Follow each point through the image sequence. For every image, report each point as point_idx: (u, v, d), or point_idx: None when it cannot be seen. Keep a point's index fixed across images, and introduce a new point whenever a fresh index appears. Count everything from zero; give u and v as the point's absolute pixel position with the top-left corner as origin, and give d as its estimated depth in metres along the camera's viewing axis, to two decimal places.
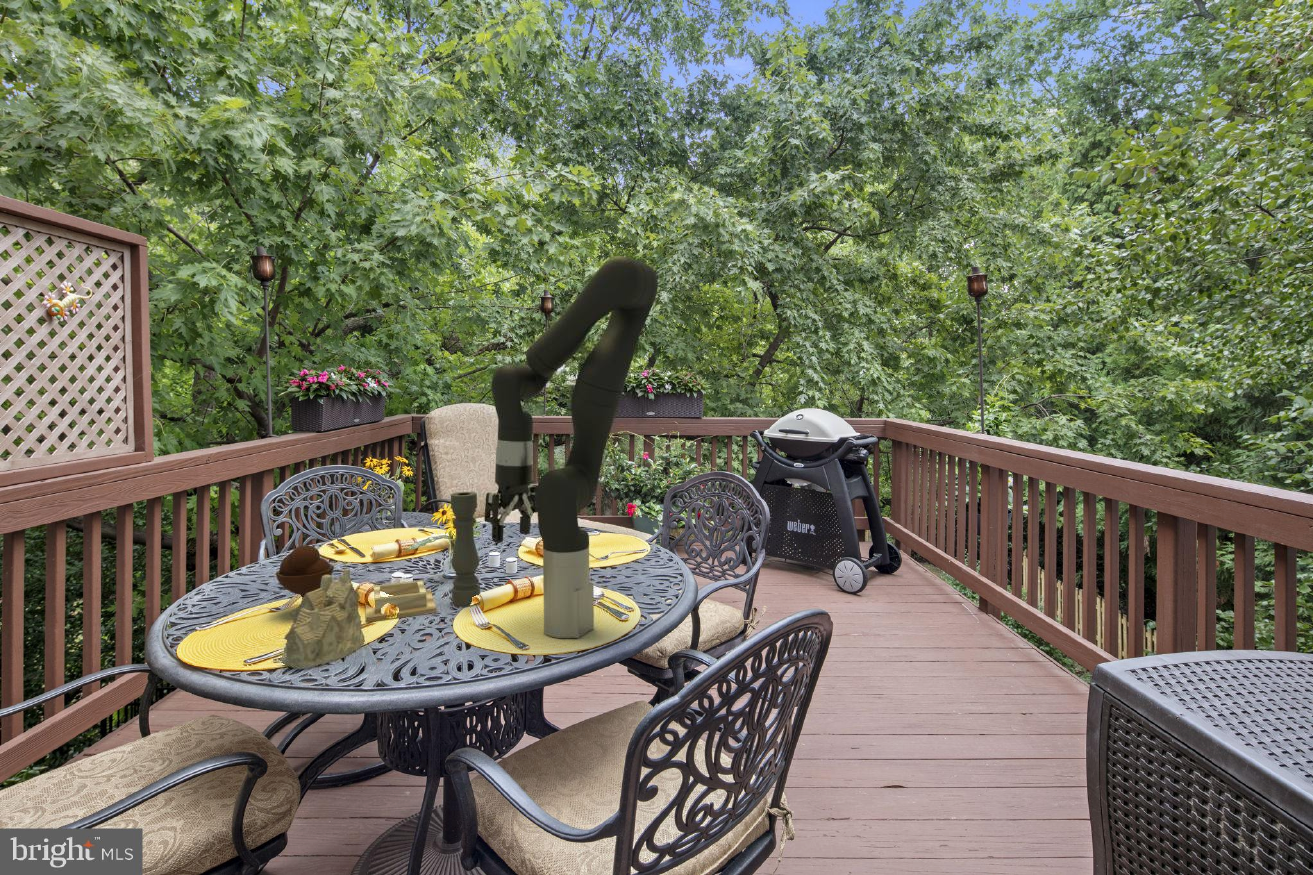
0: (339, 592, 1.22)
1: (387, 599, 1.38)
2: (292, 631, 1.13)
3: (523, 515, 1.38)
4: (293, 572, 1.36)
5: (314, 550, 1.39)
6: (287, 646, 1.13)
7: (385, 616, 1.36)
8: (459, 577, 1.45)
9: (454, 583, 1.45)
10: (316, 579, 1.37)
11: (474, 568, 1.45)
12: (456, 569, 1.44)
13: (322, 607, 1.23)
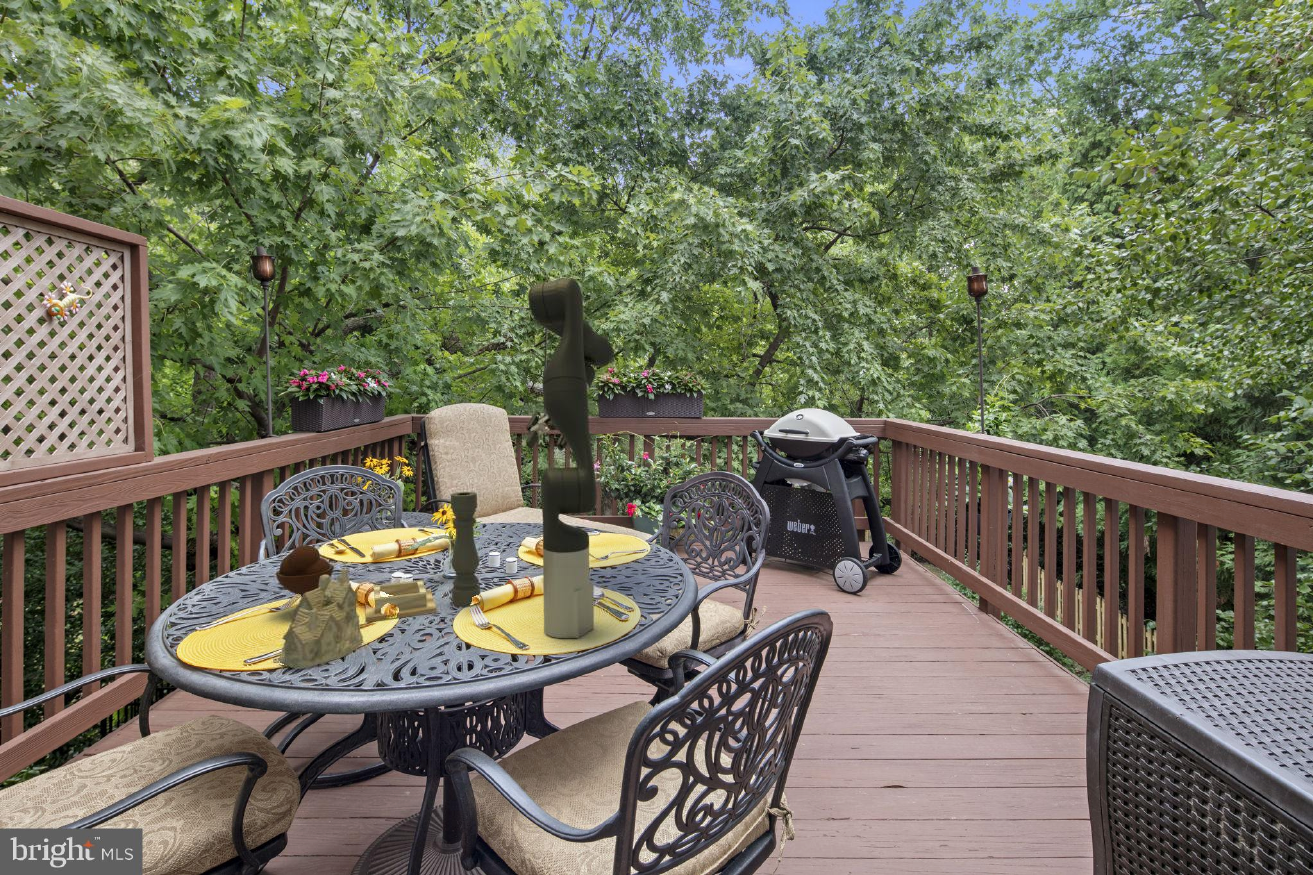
0: (337, 592, 1.22)
1: (387, 599, 1.38)
2: (290, 631, 1.13)
3: None
4: (293, 572, 1.36)
5: (314, 550, 1.39)
6: (285, 646, 1.13)
7: (385, 616, 1.36)
8: (459, 577, 1.45)
9: (454, 583, 1.45)
10: (316, 579, 1.37)
11: (474, 568, 1.45)
12: (456, 569, 1.44)
13: (320, 607, 1.23)
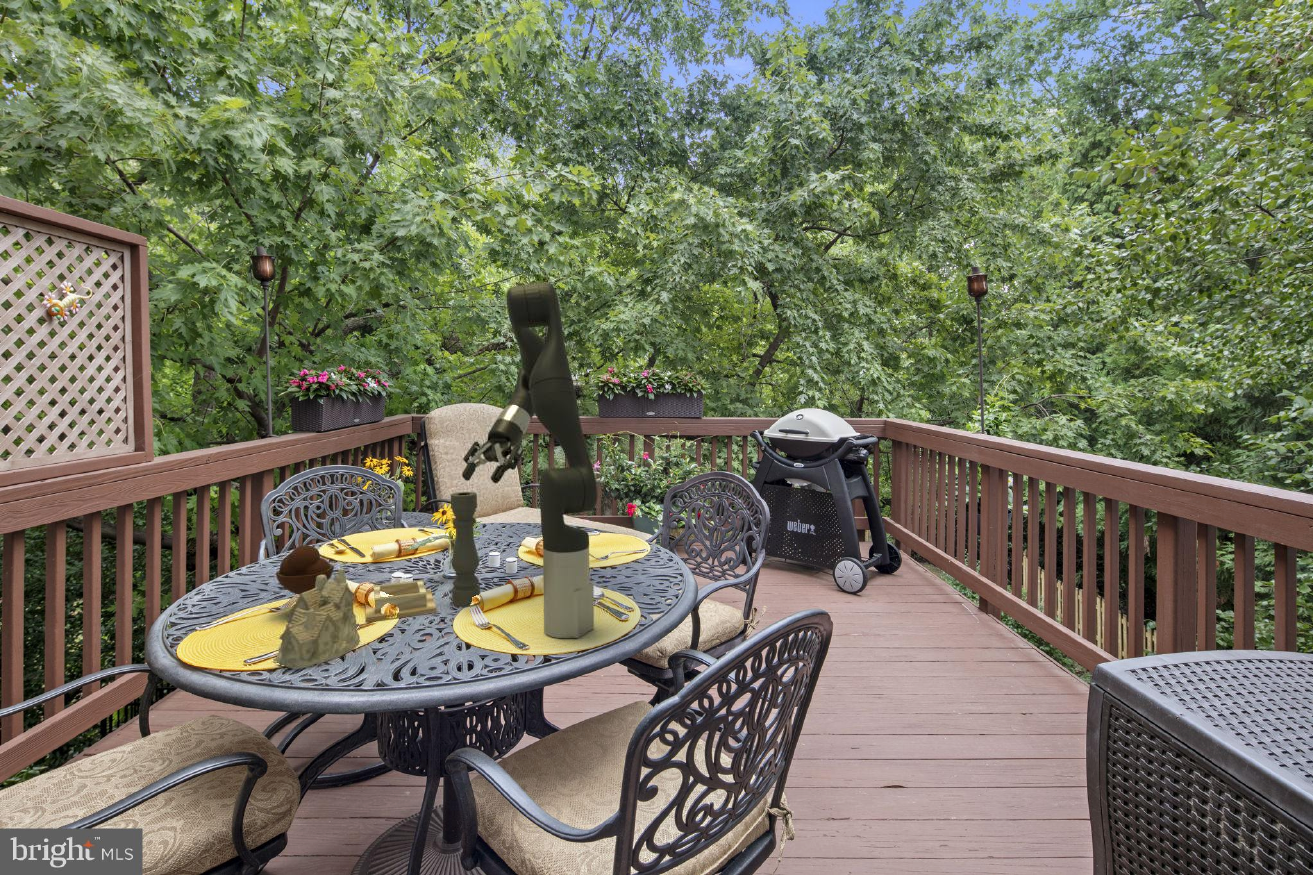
0: (334, 592, 1.22)
1: (387, 599, 1.38)
2: (287, 631, 1.13)
3: None
4: (293, 572, 1.36)
5: (314, 550, 1.39)
6: (282, 646, 1.13)
7: (385, 616, 1.36)
8: (459, 577, 1.45)
9: (454, 583, 1.45)
10: None
11: (474, 568, 1.45)
12: (456, 569, 1.44)
13: (317, 607, 1.23)
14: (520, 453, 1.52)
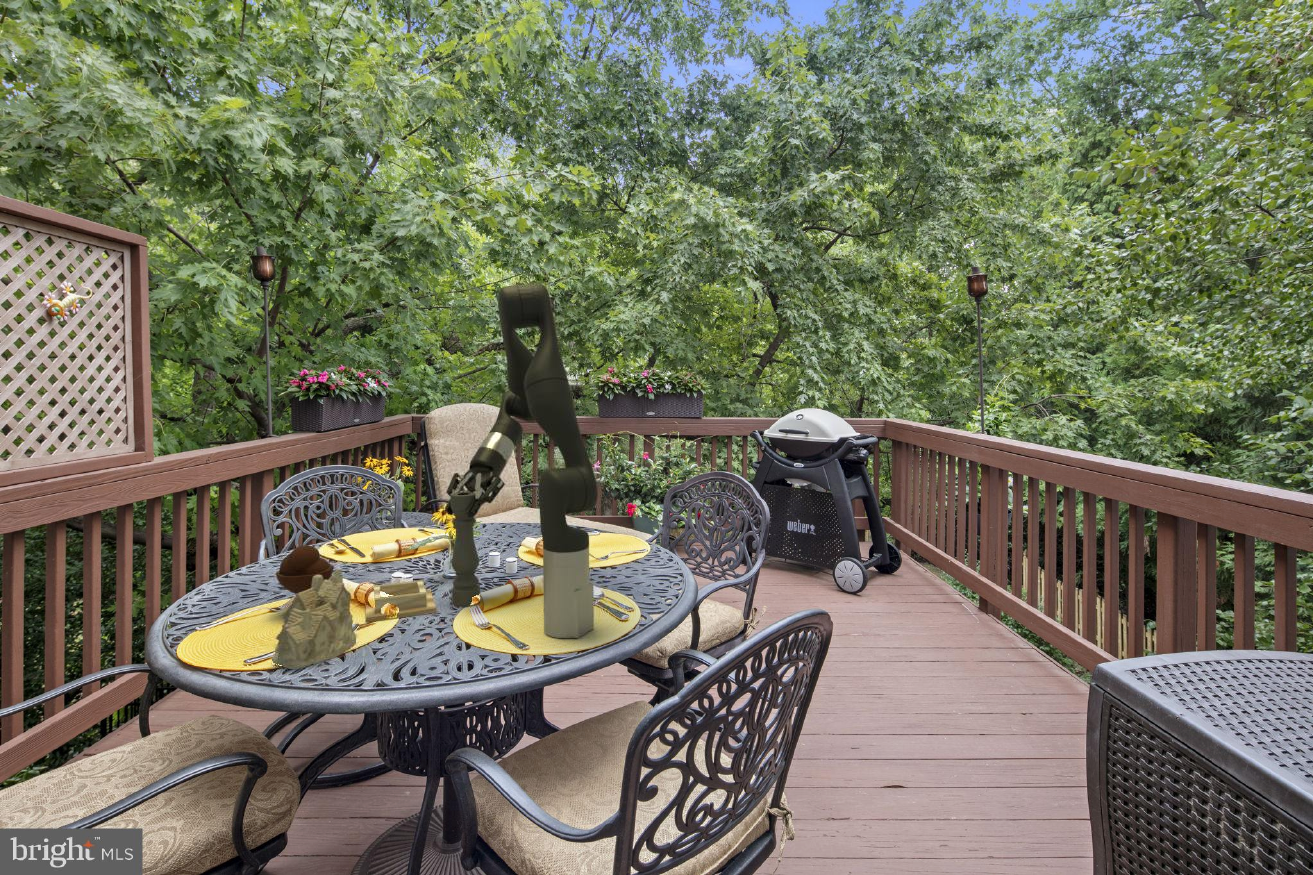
0: (330, 592, 1.22)
1: (387, 599, 1.38)
2: (284, 631, 1.13)
3: None
4: (293, 572, 1.36)
5: (314, 550, 1.39)
6: (279, 646, 1.13)
7: (385, 616, 1.36)
8: (459, 577, 1.45)
9: (454, 583, 1.45)
10: None
11: (474, 568, 1.45)
12: (456, 569, 1.44)
13: (313, 607, 1.23)
14: (500, 486, 1.46)
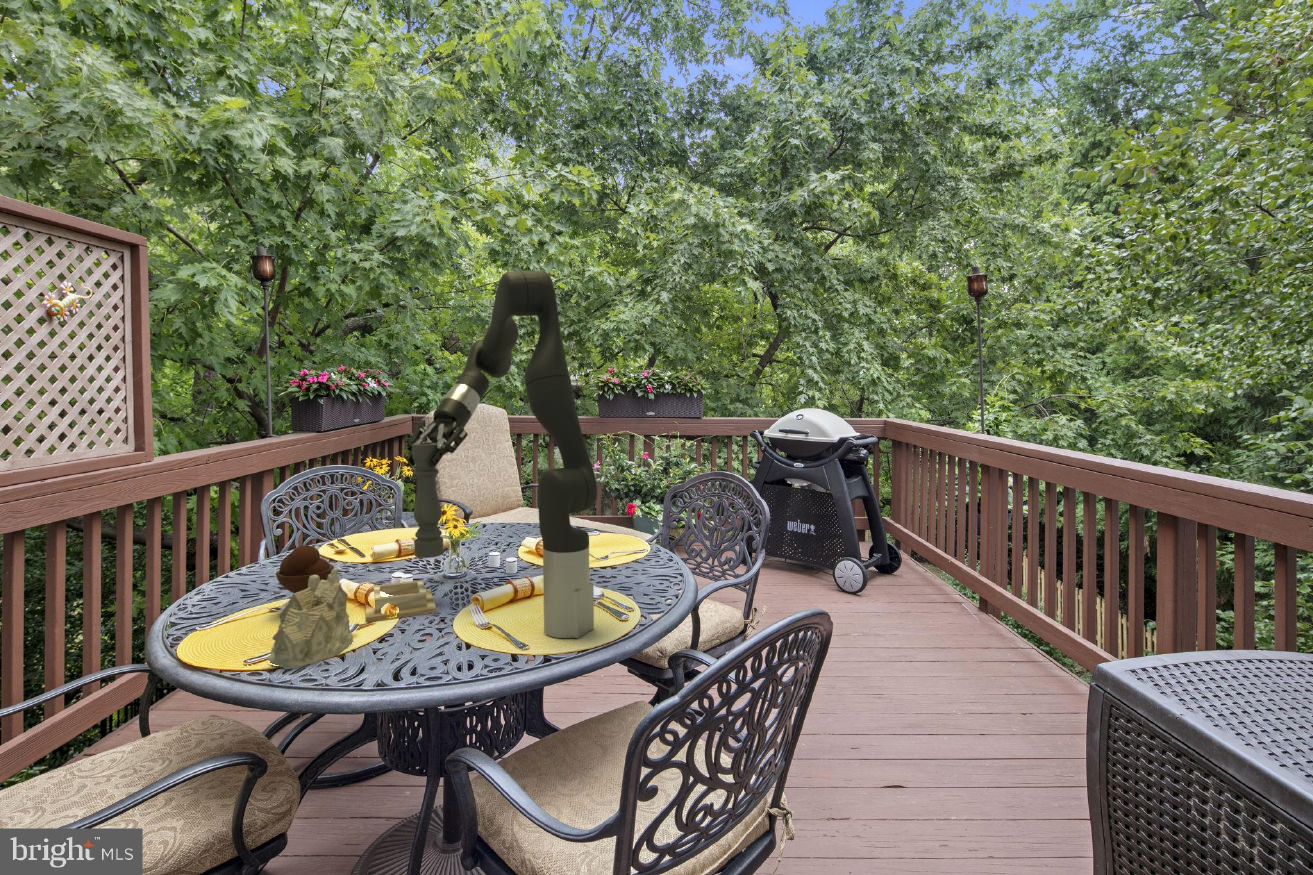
0: (327, 592, 1.22)
1: (387, 599, 1.38)
2: (280, 631, 1.13)
3: None
4: (293, 572, 1.36)
5: (314, 550, 1.39)
6: (275, 646, 1.13)
7: (385, 616, 1.36)
8: (421, 528, 1.43)
9: (416, 534, 1.43)
10: None
11: (436, 519, 1.43)
12: (418, 520, 1.42)
13: (310, 607, 1.23)
14: (462, 437, 1.44)
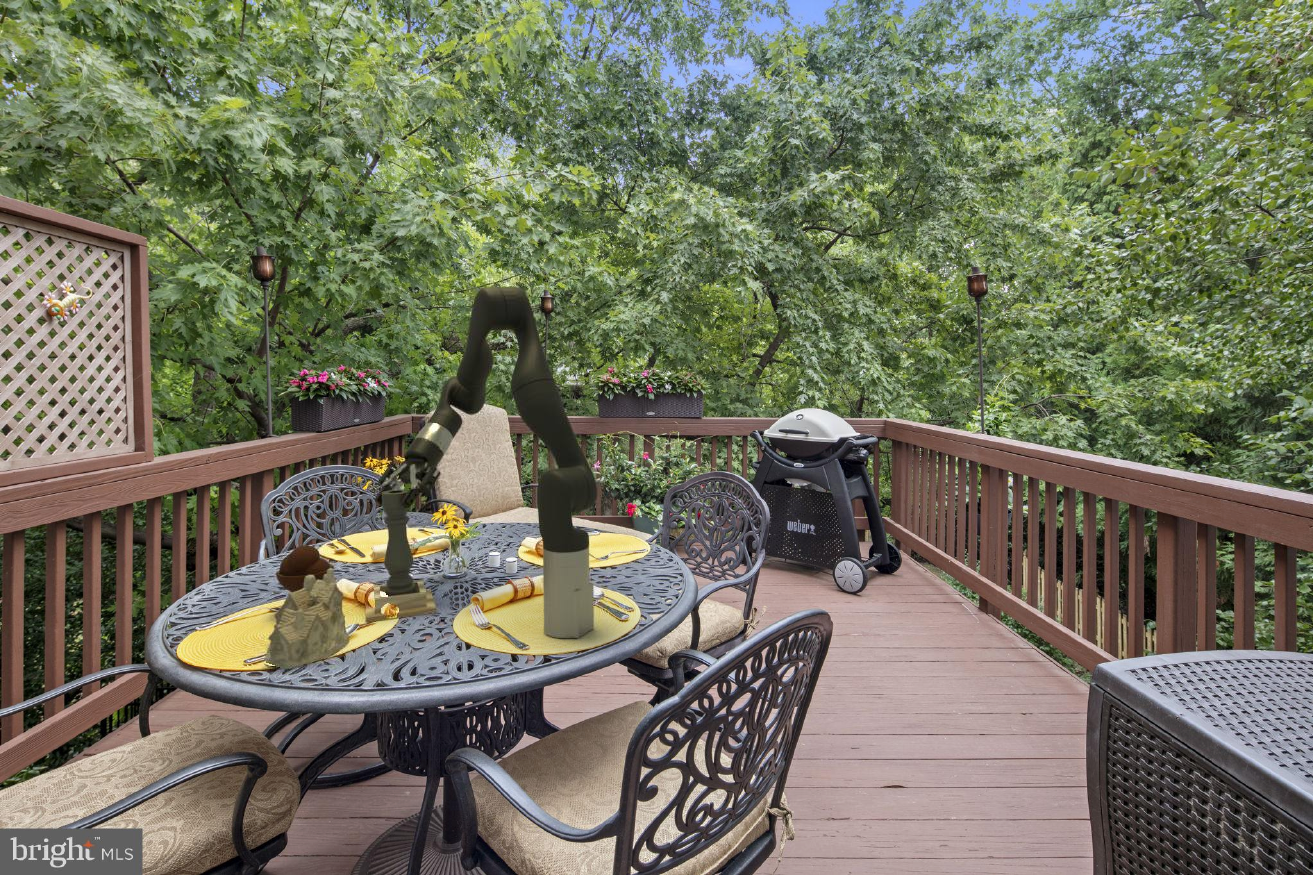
0: (323, 592, 1.22)
1: (387, 599, 1.38)
2: (276, 631, 1.13)
3: None
4: (293, 572, 1.36)
5: (314, 550, 1.39)
6: (271, 646, 1.13)
7: (385, 616, 1.36)
8: (392, 577, 1.42)
9: (387, 583, 1.42)
10: (316, 579, 1.37)
11: (407, 567, 1.42)
12: (388, 569, 1.41)
13: (306, 607, 1.23)
14: (436, 476, 1.43)
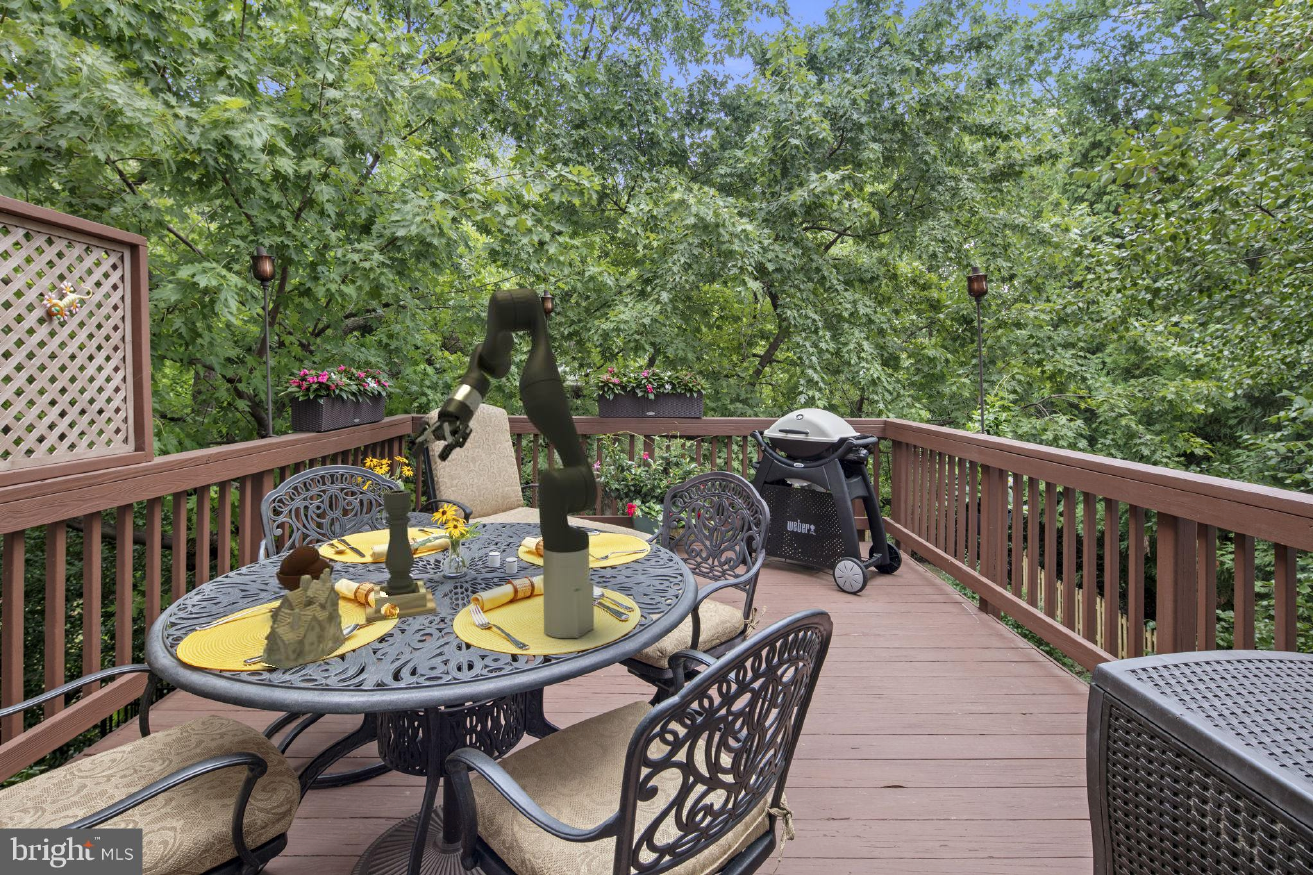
0: (319, 592, 1.21)
1: (387, 599, 1.38)
2: (273, 631, 1.13)
3: None
4: (293, 572, 1.36)
5: (314, 550, 1.39)
6: (268, 647, 1.13)
7: (385, 616, 1.36)
8: (392, 577, 1.42)
9: (387, 583, 1.42)
10: (316, 579, 1.37)
11: (408, 568, 1.42)
12: (389, 569, 1.41)
13: (302, 607, 1.23)
14: (469, 432, 1.52)
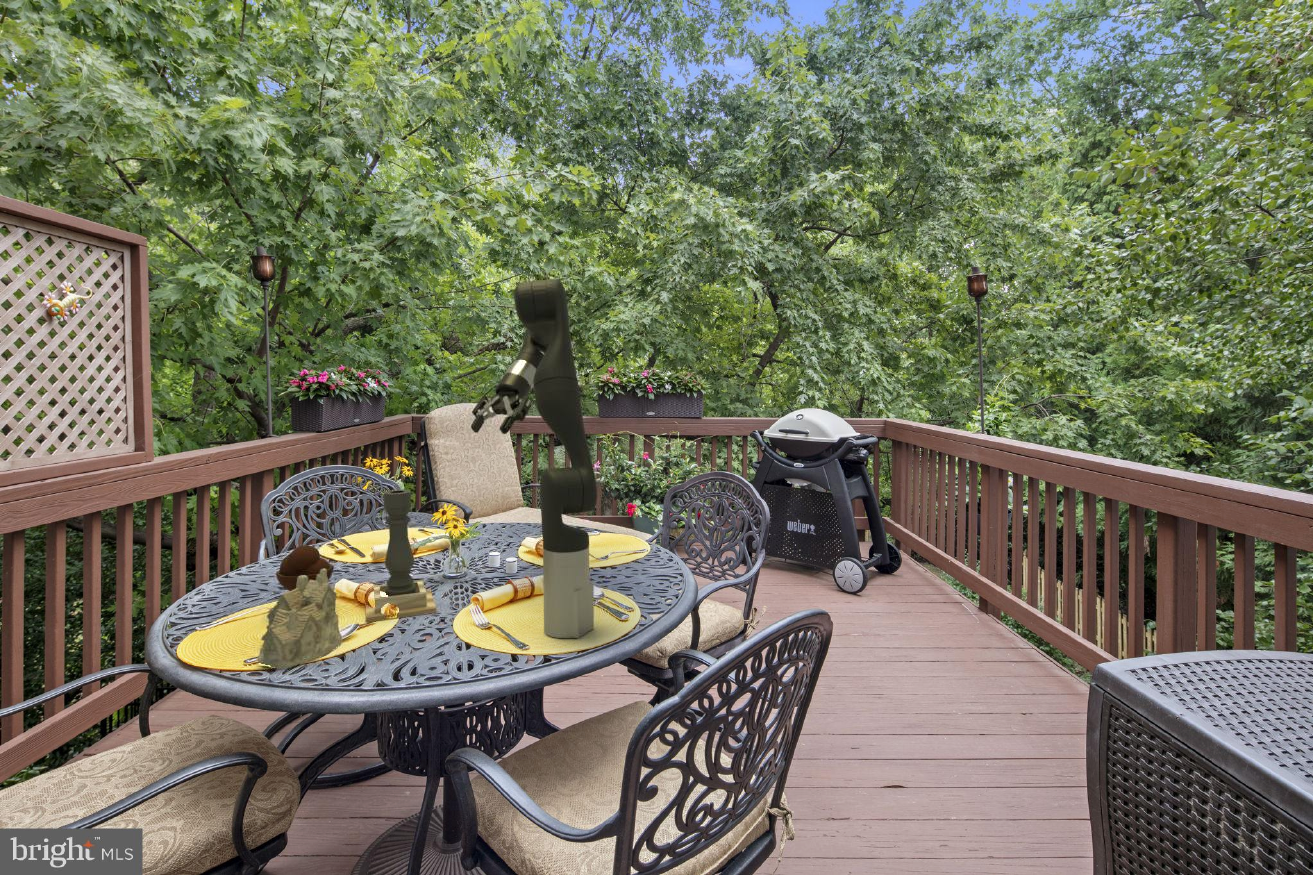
0: (316, 592, 1.21)
1: (387, 599, 1.38)
2: (270, 632, 1.13)
3: None
4: (293, 572, 1.36)
5: (314, 550, 1.39)
6: (264, 647, 1.13)
7: (385, 616, 1.36)
8: (392, 577, 1.42)
9: (387, 583, 1.42)
10: None
11: (408, 568, 1.42)
12: (389, 569, 1.41)
13: (298, 607, 1.22)
14: (528, 405, 1.54)
